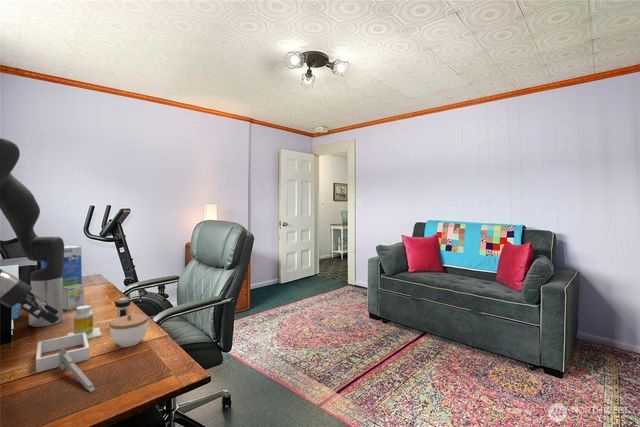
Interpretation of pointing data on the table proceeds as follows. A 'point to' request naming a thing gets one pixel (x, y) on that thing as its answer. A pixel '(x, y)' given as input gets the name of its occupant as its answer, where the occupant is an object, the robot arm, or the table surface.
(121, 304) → the push button
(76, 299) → the ink box
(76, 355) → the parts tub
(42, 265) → the string lights box
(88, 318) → the supplement bottle
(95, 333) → the rubber mat
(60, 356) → the caliper
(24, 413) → the table surface
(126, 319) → the lidded jar
